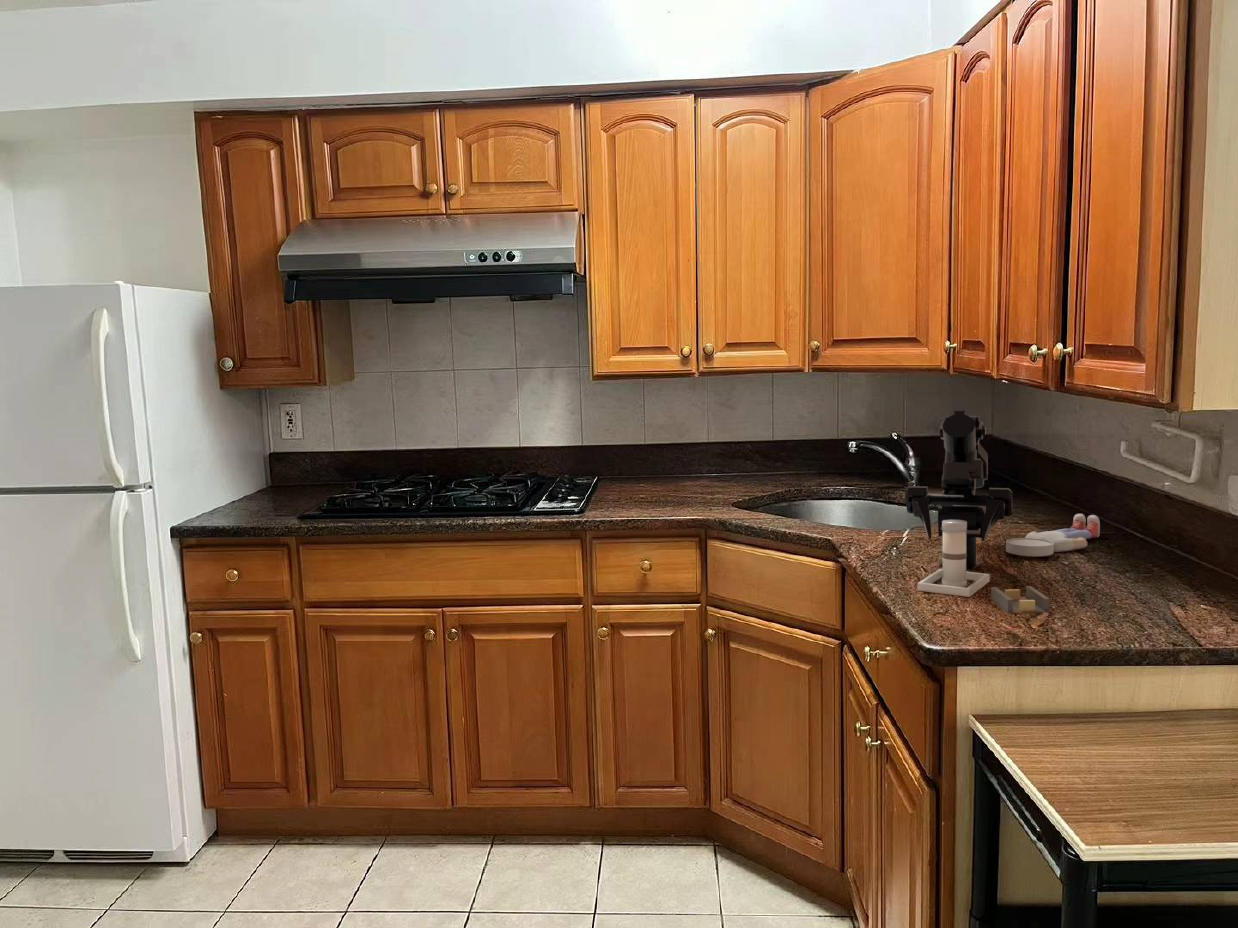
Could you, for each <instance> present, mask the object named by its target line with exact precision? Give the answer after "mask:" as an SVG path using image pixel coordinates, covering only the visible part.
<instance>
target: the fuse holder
mask: <svg viewBox="0 0 1238 928" xmlns="http://www.w3.org/2000/svg"><path fill="white" fill-rule="evenodd" d="M990 590H991V592H990V595H991V596H990V597H988V598H989V600H991V601H992V602H993V603H994V604H996V605H997V606H998V607H999V608H1000V609H1002V610H1004V612H1006V613H1007V614H1012V613H1013V614H1017V613H1020V614H1021V613H1022V614H1023V613H1025V614H1026V613H1052V612H1053V611H1052V610H1051V609H1050V600H1051V599H1050V598H1049V596H1046V594H1044V593H1042V592H1040V591H1039V590H1037V589H1036V588H1035V587H1033V586H1031V585H1029V586H1028V585H1026V586H1025V596H1021V589H1017V588H1013V589H1004V592H1003V590H1001V589H999V588H998V587H997V586H991V588H990Z"/></svg>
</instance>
